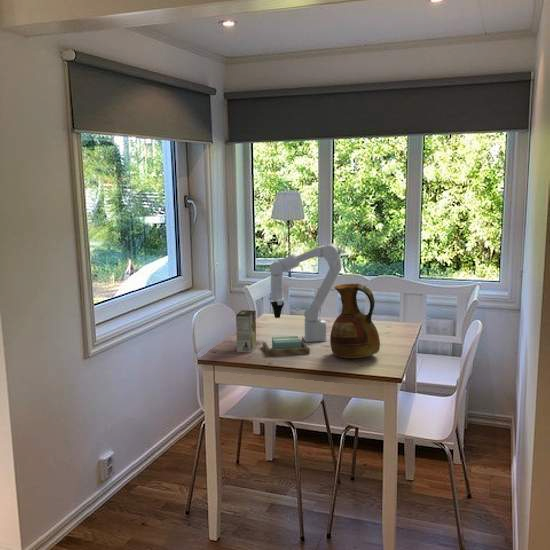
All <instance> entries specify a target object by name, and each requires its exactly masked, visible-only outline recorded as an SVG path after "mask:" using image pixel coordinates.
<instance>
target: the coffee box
mask: <svg viewBox="0 0 550 550" xmlns="http://www.w3.org/2000/svg"><path fill="white" fill-rule="evenodd" d="M256 319H257V313H256V310H247V309H246V310H240V311H239V312H238V313H237V314H236V315H235V322H236V326H235V327H236V352H237V353H250V354H251V353H252V352H253V351H254V350H255V349H256V348H257V327H256V326H257V322H256V321H257V320H256Z"/></svg>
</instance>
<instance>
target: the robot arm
mask: <svg viewBox="0 0 550 550" xmlns="http://www.w3.org/2000/svg"><path fill="white" fill-rule="evenodd" d="M315 257H317V258H321V259H322V258H324V260H325V261H326V262H327V264H328V266H329V268H328V271H327V273H326V275H325V277H324V279H323V280H322V282H321V285H320V287H319V288H318V290H317V293H316V294H315V296H314V298H313V300H312V302H311V303H310V304H309V305H308V306H307V308H306V309H305V310H304V312H303V315H304V335H303V336H302V339H303V341H305V342H307V343H313V342H327V323H326V320H325V319H322V318H321V317H320V315H321V314H322V307H323V304H324V303H325V301H326V298H327V296H328V295H329V293H330V291H331V289H332V288H333V285H334V283H335V281H336V280H337V278H338V276H339V273H340V272H341V270H342V256H341V249H339V247H338V245H337V244H336V243H333V242H332V243H327V245H326V244H324V245H320V246H316V247H315V248H312V249H309V250H308V251H305V252H304V253H301V254H298V255H296V254H294V253H292V254H291V253H289V254H288V255H287V256H286V257H284V258H278V260H276V261H274V262H272V263H271V264H270V265H269V268H268V269H269V272H270V296H269V297H268V301H270V305H271V307H272V310H273V316H274V318H275V319H280V318H281V316H282V315H281V314H282V311H283V306H284V305H285V303H284V300H285V297H284V293H285V292H284V272H287V271H290V270H293V269H295V268H298V267H299V266H300V265H301V264H300V263H301V262H304V261H308V260H310V259H313V258H315Z"/></svg>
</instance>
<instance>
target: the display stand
mask: <svg viewBox="0 0 550 550" xmlns="http://www.w3.org/2000/svg"><path fill="white" fill-rule="evenodd" d="M300 340H301V348H288V349H272V348H271V349H270V348H269V346H268V344H267V342H262V348H263V350H264V352H265V353H266V355H267V357H279V356H280V357H281V356H283V357H284V356H298V355H300V356H301V355H310V354H311V353H310V352H311V351H310V350H311V348H310V347H308V345H307V344H306V343H305V342H304V339H303V340H302V339H300Z"/></svg>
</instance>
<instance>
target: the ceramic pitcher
mask: <svg viewBox="0 0 550 550" xmlns="http://www.w3.org/2000/svg"><path fill="white" fill-rule="evenodd" d="M333 288H334V289H335V291H337V293H339V295H340V300H341V307H342V308H341V313H340V314H339V315H338V316H337V317H336V319H335V320H334V322H333V324H332V327H331V330H330V337H329V338H330V339H329V340H330V341H329V342H330V349H331V352H332V354H333V355H335V356H336V357H339V358H346V359H357V358H365V357H366V358H367V357H369V356H374V355H375V354H377V353H379V351H380V349H381V348H380V347H381V341H380V340H381V339H380V335H379V332H378V329H377V327H376V325H375V324H374V322H373V320H372V317H373V316H372V315H373V312H374V309H375V302H376V301H375V297H374V295H373V292H372V290H371V289H370V288H368V287H367V286H366V285H362V284H361V283H345V284H343V283H342V284H338V285H335V286H334V287H333ZM358 291H360V292H362V293H364V294H365V295H366V297H367V298H368V301H369V310H368V312H367V314H365V313H363V312H362V311H361V310H360V309H359V306H358V301H357V300H358V299H357V295H358Z"/></svg>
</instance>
